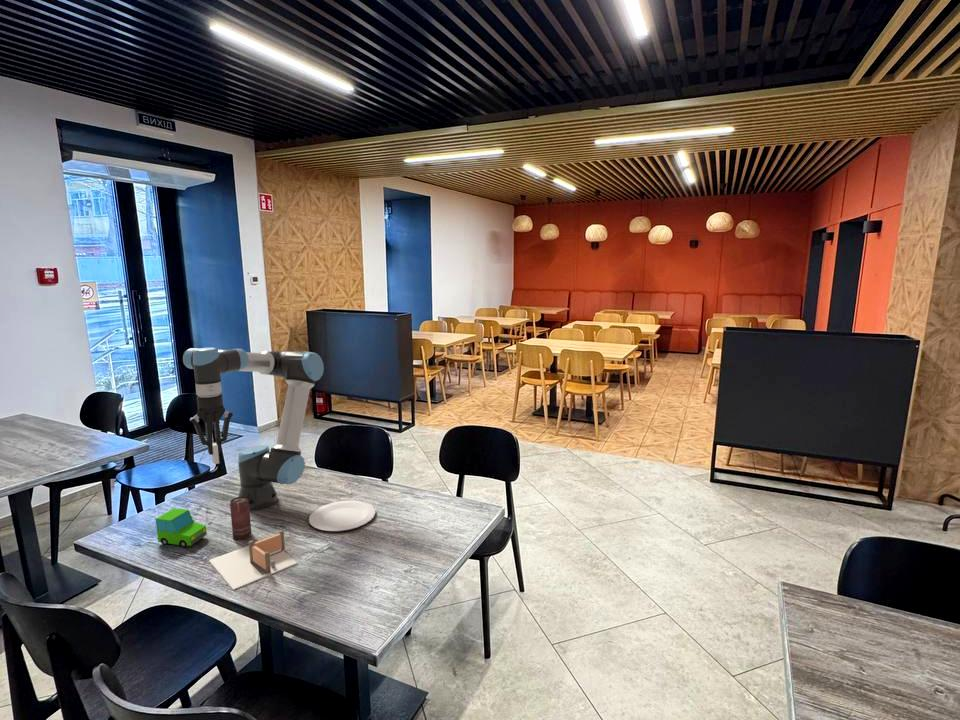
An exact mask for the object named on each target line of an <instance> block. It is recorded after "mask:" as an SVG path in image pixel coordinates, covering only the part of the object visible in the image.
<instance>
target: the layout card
mask: <svg viewBox="0 0 960 720" xmlns="http://www.w3.org/2000/svg"><path fill="white" fill-rule="evenodd" d="M254 545H255V542H254ZM208 562H209V563H210V564H211V565H212V567H213V568H214V570H215V571H216V572H217V573H218V574H219V575H220V577H221V578H222V579H223V581H225V583H226V584H227V585H228V586H229V587H230V588H231V589H232V590H233V591H236V590H237V589H240V588H242V587H245V586H247V585H250V584H252V583H254V582H256V581H257V582H258V581H259V580H261V579H264V578H266V577H269V576H271V575H273V574H276V573H279V572H281V571H284V570H286V569H289V568H290V567H293V566H295V565H297V564H298V562H297V561H296V560H295V559H294V558H293V557H292V556H291V555H289V554H288V553H287V552H286V551H285V550H281V549H280V550H277V551H275V552H272V553H270V566H271V572H270V573H266V570H265V569H263V568H262V567H260V566H259V565H258V564H256V563H255V562H253V563H251V562H250V554H249V545H247V546H245V547H241V548H238V549H236V550H233V551H231V552H228V553H224V554H221V555H218V556H217V557H214V558H211V559H209V560H208ZM235 589H236V590H235Z"/></svg>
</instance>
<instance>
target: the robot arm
mask: <svg viewBox="0 0 960 720" xmlns="http://www.w3.org/2000/svg"><path fill="white" fill-rule="evenodd" d="M182 362H183V365H184V366H185V367H186V368H188V369H189V370H193V372H194V375H193V376H194V380H195V381H194V382H195V384H194V385H195V394H196V396H197V397H196V403H197V411H196V414H195V415H194V416H193V417H190V418H189V421H190V422H191V423H192V424H193V426H194V428H195V431H196V434H197V436H198V439H199V442H200V443H201V445H203V446H207V452H208V455H211V457H212V458H211V459H212V460H211V461H212V463H213V464H214V465H218V464H220V456H219V455H220V454H221V453H222V443H223V442H226V441H227V439H228V433H229V428H230V422H231V419H232V417H233V415H234V414H233V412H231V411H228V410H226V408H225V407H224V398H223V394H222V393H223V388H222V375H224V374H227V373H232V372H252V373H253V372H255V373H256V372H257V373H259V374H261V375H266V376H267V375H268V376H275V377H279V378H284V379H285V383H286V384H287V391H286V395H285V401H284V405H283V409H282V414H281V418H280V419H281V420H280V424H279V429H278V433H277V437H276V438H277V439H276V442H275V444H274V445H273V446H271V447H269V445H257V446H252V447H247V448H246V449H244V450H242V451H240V452H239V453H238V456H237V457H238V459H237V460H238V462H237V463H238V472H239V481H240V482H239V484H240V488H239V493H238V495H237V496H238V497H247V499H248V500H249V510H250V511H255V510H261V509H265V508H268V507H270V506H272V505H273V504H275V503H277V501H278V493H277V491H276V489H275V486H274V484H275V483H276V484H280V485H292V484H294V483H296V482H297V481H298V480H300V479H301V477H302V475H303V473H304V471H305V467H306V461H305V458H304V457H303V456H302V450H301V449H300V447H299V446H300V440H301V434H302V431H303V424H304V419H305V416H306V410H307V406H308V399H309V395H310V391H311V389H312V388H314V386H315V384H316V381H319V380H320V379H321V377H323V374H324V369H325V368H324V362H323V359H322V358H321V356H320V355H319V354H318V353H316V352H311V351H308V350H306V351H305V350H304V351H302V350H301V351H299V350H276V351H269V350H268V351H267V350H265V351H263V350H262V351H261V352H248V351H245V350H244V349H243V348H232V349H218V348H217V347H202V348H201V347H200V348H199V347H193V348H192V347H190V348H188V349H186V350H185V351H184V352H183V355H182ZM222 417H224V418H223V424H222V430H221V427H220V424H221V423H220V422H221V419H222ZM200 420H201V421H202V422H203V423H204V426H205V436H204V432H203V431H202V428H201V425H200V424H199V423H200ZM212 423H213V430H214V440H215V442H213V434H212ZM205 437H206V439H205ZM273 483H274V484H273Z"/></svg>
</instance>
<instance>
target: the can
mask: <svg viewBox="0 0 960 720" xmlns="http://www.w3.org/2000/svg"><path fill="white" fill-rule="evenodd" d="M229 510H230V520H231V529H232V537H233V539H235V540H236V541H242V540H246V539H248V538H249V537H250V536H251V535H252V524H251V514H250V513H251V510H249V500H248V499H247V497H235V498H232V499H231V500H230V502H229Z"/></svg>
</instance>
